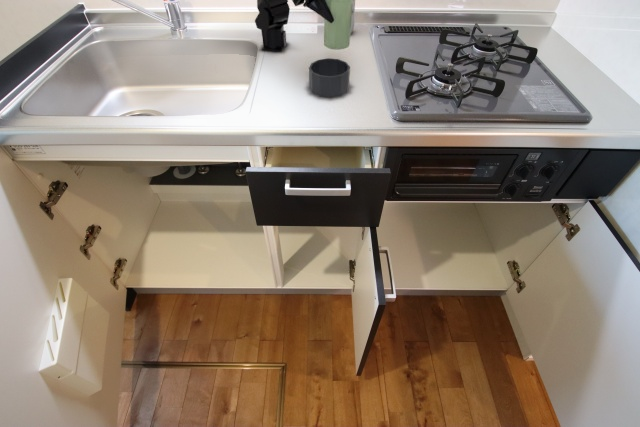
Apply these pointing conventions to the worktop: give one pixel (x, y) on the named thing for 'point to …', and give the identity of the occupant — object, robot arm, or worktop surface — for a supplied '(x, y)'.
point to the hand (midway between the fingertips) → (342, 18)
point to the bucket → (329, 77)
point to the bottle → (352, 16)
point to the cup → (338, 24)
